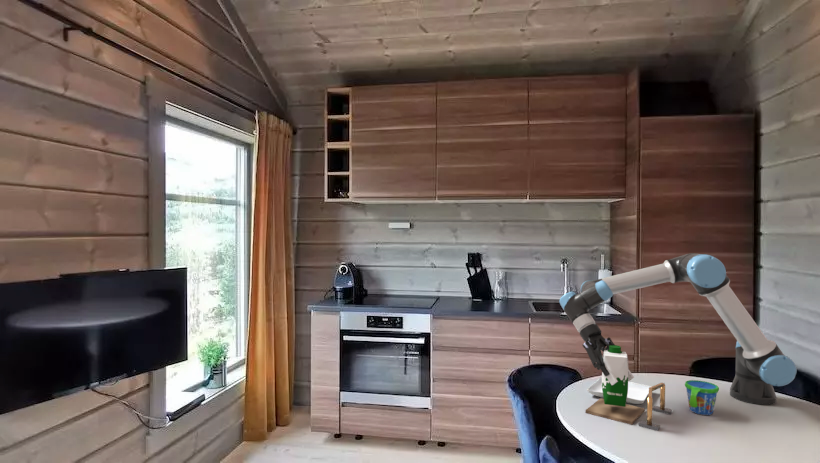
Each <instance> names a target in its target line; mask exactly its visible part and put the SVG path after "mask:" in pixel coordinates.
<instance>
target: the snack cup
mask: <svg viewBox="0 0 820 463" xmlns="http://www.w3.org/2000/svg"><path fill="white" fill-rule="evenodd" d="M684 386H685V388H686V395H687V402H688V408H689V411H691V412H693V413H695V414H697V415H702V416H710V415H712V414H714V410H715V405H716V400H717V394H718V393H719V390H720V388H719V386H718V385H717V384H715V383H712V382H708V381H704V380H695V379H691V380H687V381H685V383H684Z"/></svg>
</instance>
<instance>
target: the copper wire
mask: <svg viewBox="0 0 820 463" xmlns="http://www.w3.org/2000/svg"><path fill="white" fill-rule="evenodd" d="M658 389H659V391H660V392H659V395H660V396H659V406H658V405H653V400H654V399H653V392H654V391H655V390H658ZM646 400H647V401H646V402H647V403H646V404H647V405H646V421H645V420H640V421H639V422H638V427H641V428H646V429H650V430H653V431H656V432H657V431H658V432H659V430H660V428H661V425H660V424H657V423H653V412H656V413H661V414H666V415H670V416H671V415H672V414H673V409H671V408H666V384H665V382H660V383H658V384H655V385H652V387H650V388H649V394H648V396H647V398H646Z"/></svg>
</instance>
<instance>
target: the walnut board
mask: <svg viewBox="0 0 820 463" xmlns="http://www.w3.org/2000/svg"><path fill="white" fill-rule="evenodd" d="M584 411H585V414H588V415H593V416H596V417H599V418H604V419H608V420H611V421H612V420H613V421H616V422H618V423H622V424H623V423H624V424H627V425H631V426H633V424H635V422H637V420H638V419H639V418H640V417H641V416H642V415H643V414H644V413H645V411H646V409H645V407H640V406H636V405H633V404H629V403H626V406H625V407H623V406H615V405H607V404H604V398H601V397H599V399H598V400H597V401H595V402H593V404H591V405H590V406H589V407H587V408H586V409H585V410H584Z"/></svg>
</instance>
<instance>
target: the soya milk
mask: <svg viewBox="0 0 820 463" xmlns="http://www.w3.org/2000/svg"><path fill="white" fill-rule="evenodd" d="M602 357H603V361H604V363H605V366H607V367H608V369H609V370H610V372H611V373H612V374H613V375H614V376H615V378H616V379H617V381H618V382H616V383H615V384H614V385H611V383H610V382H609V380H608V379H607V377H606V376H605V375H604V374H603V372H602V371H601V377H602V391H603V397H604V398H603V399H604V404H607V405H615V406H623V407H625V406H626V404H627V403H626V400H627V394H628V382H629V381H628V368H629V358H628V354H627V352H626V351H622V346H620V345H616V344H615V345H610V346H609V350H604V352H602Z"/></svg>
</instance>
